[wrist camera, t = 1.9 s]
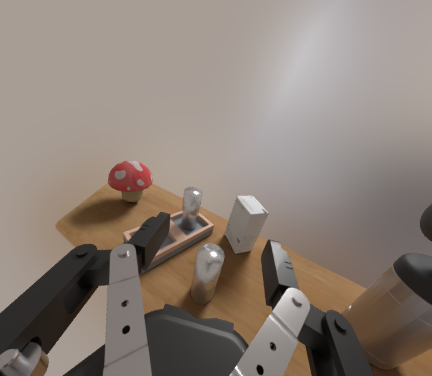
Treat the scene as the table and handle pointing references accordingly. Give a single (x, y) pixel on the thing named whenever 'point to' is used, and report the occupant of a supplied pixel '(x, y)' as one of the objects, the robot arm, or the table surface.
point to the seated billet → (191, 208)
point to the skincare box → (245, 223)
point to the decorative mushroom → (130, 179)
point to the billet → (206, 272)
